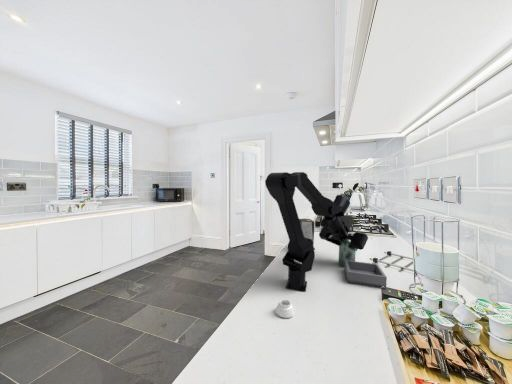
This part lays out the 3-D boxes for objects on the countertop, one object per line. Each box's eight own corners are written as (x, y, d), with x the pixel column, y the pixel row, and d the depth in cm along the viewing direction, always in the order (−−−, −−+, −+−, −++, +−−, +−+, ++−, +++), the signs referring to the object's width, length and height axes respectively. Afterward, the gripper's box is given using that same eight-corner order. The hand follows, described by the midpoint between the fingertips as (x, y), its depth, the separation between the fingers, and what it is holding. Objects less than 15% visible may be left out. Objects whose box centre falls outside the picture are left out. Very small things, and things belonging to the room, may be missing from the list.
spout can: (355, 269, 85) (357, 231, 84) (338, 266, 87) (340, 229, 86) (353, 263, 91) (355, 227, 90) (337, 261, 93) (339, 226, 92)
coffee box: (313, 255, 100) (314, 221, 99) (300, 255, 100) (301, 221, 99) (309, 249, 109) (310, 218, 108) (296, 248, 109) (297, 218, 109)
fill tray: (386, 289, 69) (386, 277, 69) (347, 283, 73) (348, 271, 73) (377, 274, 80) (377, 264, 80) (344, 270, 84) (344, 260, 84)
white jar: (275, 307, 58) (275, 318, 53) (275, 296, 58) (276, 307, 53) (293, 308, 58) (295, 320, 53) (293, 297, 58) (296, 308, 53)
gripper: (367, 212, 78) (379, 237, 85) (324, 207, 93) (337, 228, 100) (354, 236, 74) (368, 261, 81) (311, 226, 89) (326, 248, 96)
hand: (349, 248), depth 89 cm, fingers closed on spout can, 6 cm apart
